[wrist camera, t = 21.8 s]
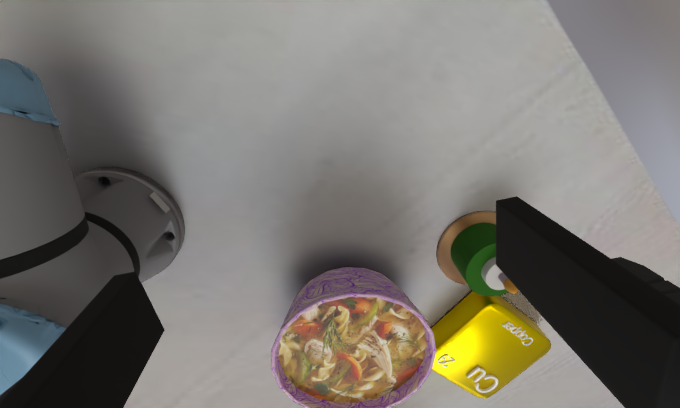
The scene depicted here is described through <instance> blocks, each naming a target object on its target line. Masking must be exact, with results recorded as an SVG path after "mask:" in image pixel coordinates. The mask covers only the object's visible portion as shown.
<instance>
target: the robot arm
mask: <svg viewBox="0 0 680 408" xmlns="http://www.w3.org/2000/svg"><path fill="white" fill-rule="evenodd" d="M59 126H61V125H60V122H59V120H58V119H56V118H55V116H54V114H53V111H52V109H51V106H50V103H49V101H48V98H47V95H46V93H45V90H44V87H43V85H42V83H41V81H40V79H39V78H38V77H37V76H36V74H35V73H34V72H32V71H31V70H30V69H29V68H27V67H25V66H24V65H22V64H19V63H17V62H14V61H11V60H7V59H1V58H0V408H123V407H124V405H125V403H126V401H127V399H128V397H129V396H130V394H131V392H132V390H133V388H134V386H135V384H136V382H137V381H138V379H139V377H140V375H141V373H142V371H143V369H144V367H145V366H146V364H147V362H148V360H149V358H150V356H151V354H152V352H153V350H154V349H155V347H156V345H157V343H158V341H159V339H160V337H161V335H162V334H163V332H164V328H163V326H162V324H161V322H160V320H159V318H158V316H157V314H156V312H155V310H154V308H153V306H152V304H151V302H150V300H149V298H148V296H147V294H146V292H145V290H144V288H143V286H142V284H141V283H142V282H144V281H145V280H147V279H149V278H151V277H153V276H154V275H156V274H158V273H159V272H161V271H162V270H164V269H165V268H166V267H167V266H168V265H169V264H170V263H171V262H172V261H173V259H174V258H175V256H176V255H177V253H178V252H179V250H180V248H181V246H182V243H183V240H184V222H183V218H182V215H181V212H180V210H179V208H178V206H177V204H176V203H175V201H174V200H173V199H172V197H171V196H170V195H169V194H168V193H167V192H166V191H165V190H164V189H163V188H162V187H161V186H160V185H158V184H157V183H156V182H154V181H153V180H151V179H149V178H148V177H146V176H144V175H142V174H139V173H137V172H134V171H131V170H127V169H122V168H114V167H105V168H97V169H92V170H89V171H86V172H84V173H82V174H80V175H78V176H76V177H74V176H73V173H72V170H71V166H70V163H69V160H68V156H67V153H66V149H65V146H64V143H63V139H62V136H61V133H60V129H59ZM496 265H497V267H498V268H499V269H500V270H501V271H502V272H503V273H504V274H505V275H506V277H507V278H508V279H509V280H510V281H511V282H512V283H513V284H514V285H515V286H516V288H517V289H518V290H519V291H520V292H521V293H522V294H523V295H524V296H525V298H526V299H527V300H528V301H529V302H530V303H531V304H532V305H533V306H534V307H535V309H536V310H537V311H538V312H539V313H540V314H541V315H542V316H543V317H544V319H545V320H546V321H547V322H548V323H549V324H550V325H551V326H552V327H553V329H554V330H555V331H556V332H557V333H558V334H559V335H560V336H561V337H562V338H563V340H564V341H565V342H566V343H567V344H568V345H569V346H570V347H571V348H572V350H573V351H574V352H575V353H576V354H577V355H578V356H579V357H580V358H581V359H582V361H583V362H584V363H585V364H586V365H587V366H588V367H589V368H590V369H591V371H592V372H593V373H594V374H595V375H596V376H597V377H598V378H599V379H600V380H601V382H602V383H603V384H604V385H605V386H606V387H607V388H608V389H609V390H610V392H611V393H612V394H613V395H614V396H615V397H616V398H617V399H618V400H619V402H620V403H621V404H622V405H623V406H624V407H625V408H680V288H679V287H677V286H676V285H674V284H672V283H671V282H669V281H665V280H664V278H663V277H661V276H660V275H658V274H656V273H655V272H653V271H651V270H650V269H648V268H647V267H645V266H643V265H640V264H638V263H635V262H632V261H629V260H627V259H624V258H621V257H619V258H613V259H610V258H609V257H607V256H606V255H604V254H603V253H601V252H600V251H598V250H597V249H595V248H594V247H592V246H591V245H589V244H588V243H586V242H585V241H583V240H582V239H580V238H579V237H577V236H576V235H574V234H573V233H571V232H570V231H568V230H567V229H565V228H564V227H562V226H561V225H559V224H558V223H556V222H555V221H553V220H551V219H550V218H548V217H547V216H545V215H544V214H542V213H541V212H539V211H538V210H536V209H535V208H533V207H532V206H530V205H529V204H527V203H526V202H524V201H523V200H521V199H520V198H518V197H512V198H507V199H502V200H497V201H496Z"/></svg>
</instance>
